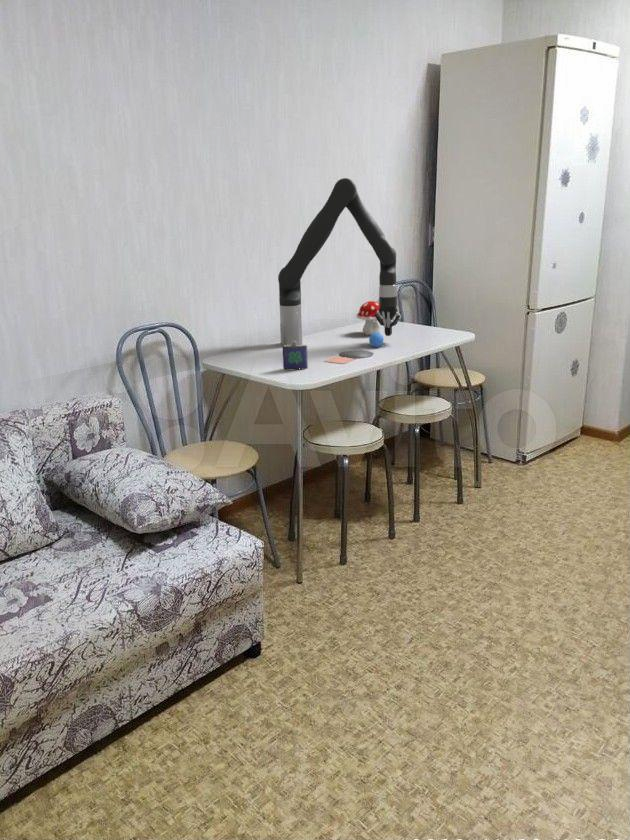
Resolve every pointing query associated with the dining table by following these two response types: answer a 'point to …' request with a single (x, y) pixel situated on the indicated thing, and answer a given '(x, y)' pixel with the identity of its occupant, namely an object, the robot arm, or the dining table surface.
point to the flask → (295, 356)
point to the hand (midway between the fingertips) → (388, 335)
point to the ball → (376, 339)
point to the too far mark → (339, 360)
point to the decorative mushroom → (369, 317)
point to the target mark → (356, 354)
